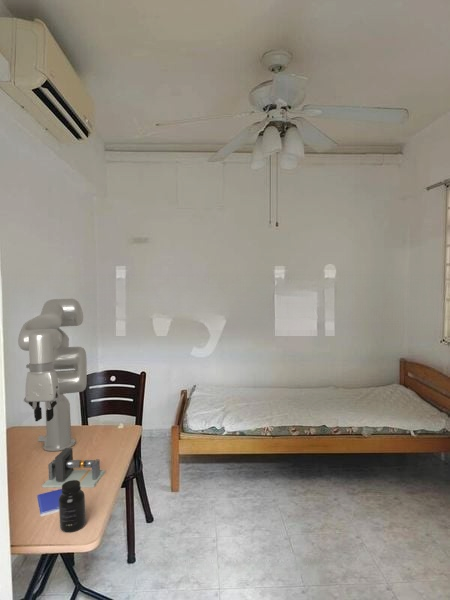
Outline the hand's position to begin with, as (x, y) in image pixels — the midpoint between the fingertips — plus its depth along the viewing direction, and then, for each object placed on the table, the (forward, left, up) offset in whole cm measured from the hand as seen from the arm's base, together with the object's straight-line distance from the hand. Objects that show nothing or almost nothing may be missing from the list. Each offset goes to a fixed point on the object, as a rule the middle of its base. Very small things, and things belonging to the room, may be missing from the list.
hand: (44, 419), depth 140 cm
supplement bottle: (+21, -27, -21) cm, 40 cm away
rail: (+10, 0, -21) cm, 23 cm away
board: (+10, 0, -21) cm, 23 cm away
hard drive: (+10, -15, -22) cm, 28 cm away
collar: (+7, 0, -20) cm, 21 cm away
